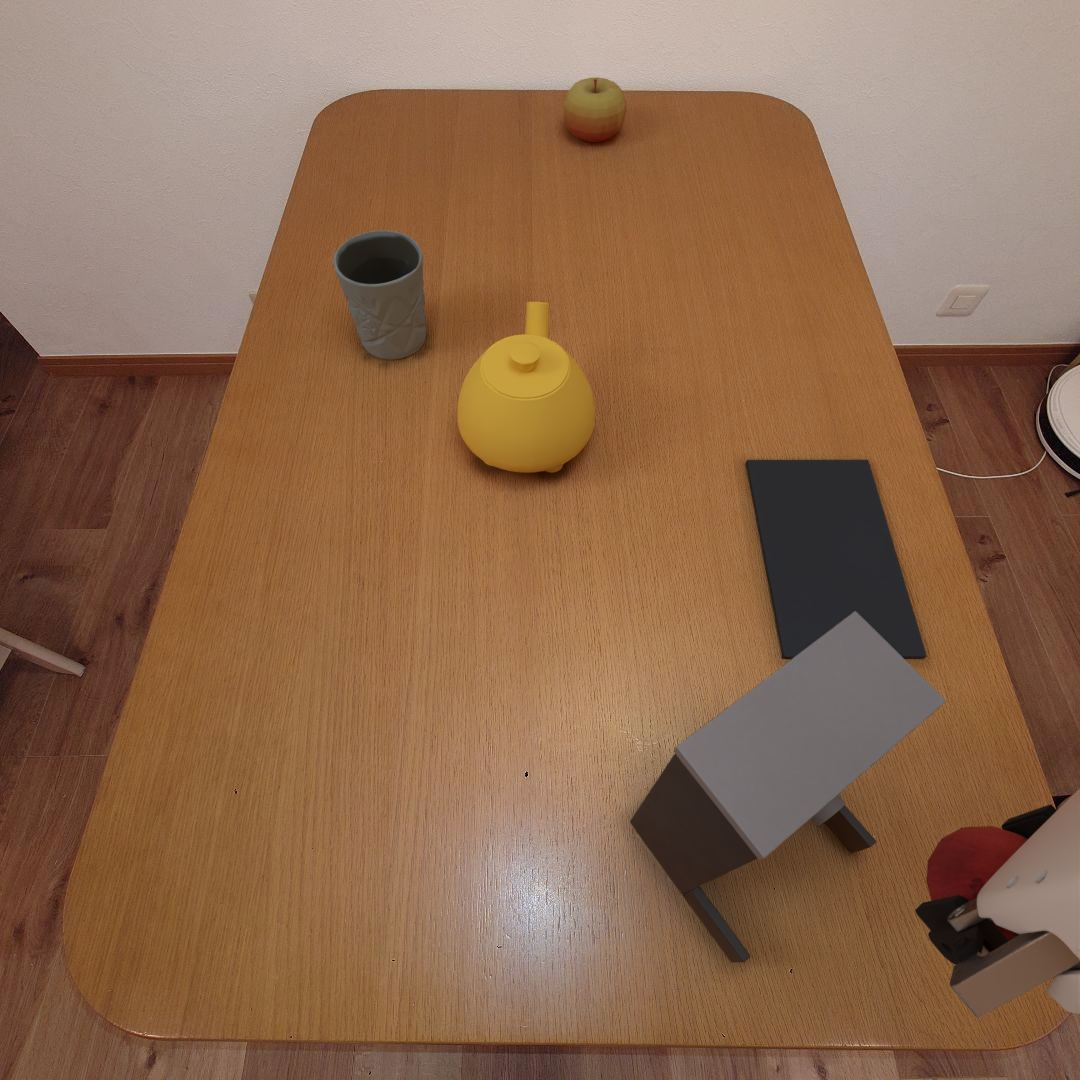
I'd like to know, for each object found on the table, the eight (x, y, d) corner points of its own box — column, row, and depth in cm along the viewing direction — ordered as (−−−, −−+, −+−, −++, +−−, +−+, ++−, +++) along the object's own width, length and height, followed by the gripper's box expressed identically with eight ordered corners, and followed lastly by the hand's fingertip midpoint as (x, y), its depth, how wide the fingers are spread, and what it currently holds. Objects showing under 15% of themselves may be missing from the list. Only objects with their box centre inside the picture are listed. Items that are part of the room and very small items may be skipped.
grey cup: (342, 352, 91) (317, 274, 81) (376, 300, 96) (357, 221, 86) (415, 371, 89) (399, 294, 79) (446, 318, 94) (435, 238, 84)
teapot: (480, 355, 91) (471, 264, 79) (602, 368, 90) (611, 277, 78) (448, 483, 81) (433, 400, 69) (585, 498, 80) (594, 417, 68)
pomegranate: (1015, 979, 36) (1125, 978, 29) (897, 936, 37) (976, 926, 30) (1014, 860, 39) (1114, 834, 32) (905, 824, 40) (979, 791, 33)
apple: (595, 110, 120) (598, 58, 113) (635, 135, 116) (642, 83, 109) (550, 131, 117) (551, 79, 110) (590, 158, 113) (594, 106, 106)
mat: (924, 658, 70) (927, 656, 70) (782, 658, 70) (784, 656, 70) (866, 462, 83) (868, 459, 82) (745, 462, 82) (746, 459, 82)
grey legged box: (859, 847, 61) (1033, 785, 40) (730, 964, 57) (848, 964, 36) (752, 724, 67) (855, 610, 45) (627, 821, 62) (675, 746, 41)
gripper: (1312, 1206, 16) (934, 1095, 31) (1600, 757, 21) (1154, 851, 36) (1021, 899, 19) (808, 935, 35) (1333, 575, 24) (1027, 732, 40)
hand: (988, 891), depth 35 cm, fingers closed on pomegranate, 5 cm apart
